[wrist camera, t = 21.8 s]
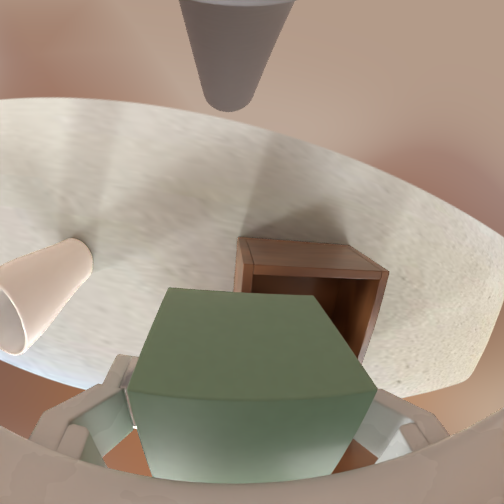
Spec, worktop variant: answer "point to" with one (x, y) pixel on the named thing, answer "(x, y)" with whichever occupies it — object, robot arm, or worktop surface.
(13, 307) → the white tapered cylinder
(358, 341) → the chest
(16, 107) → the worktop surface
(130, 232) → the worktop surface
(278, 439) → the block
